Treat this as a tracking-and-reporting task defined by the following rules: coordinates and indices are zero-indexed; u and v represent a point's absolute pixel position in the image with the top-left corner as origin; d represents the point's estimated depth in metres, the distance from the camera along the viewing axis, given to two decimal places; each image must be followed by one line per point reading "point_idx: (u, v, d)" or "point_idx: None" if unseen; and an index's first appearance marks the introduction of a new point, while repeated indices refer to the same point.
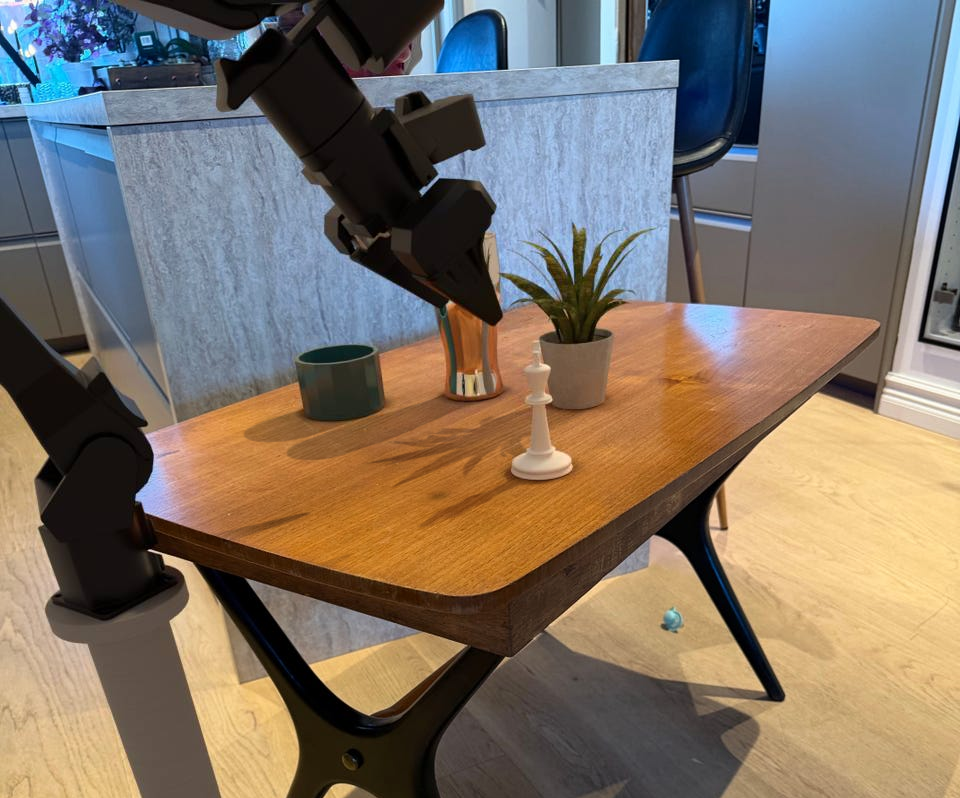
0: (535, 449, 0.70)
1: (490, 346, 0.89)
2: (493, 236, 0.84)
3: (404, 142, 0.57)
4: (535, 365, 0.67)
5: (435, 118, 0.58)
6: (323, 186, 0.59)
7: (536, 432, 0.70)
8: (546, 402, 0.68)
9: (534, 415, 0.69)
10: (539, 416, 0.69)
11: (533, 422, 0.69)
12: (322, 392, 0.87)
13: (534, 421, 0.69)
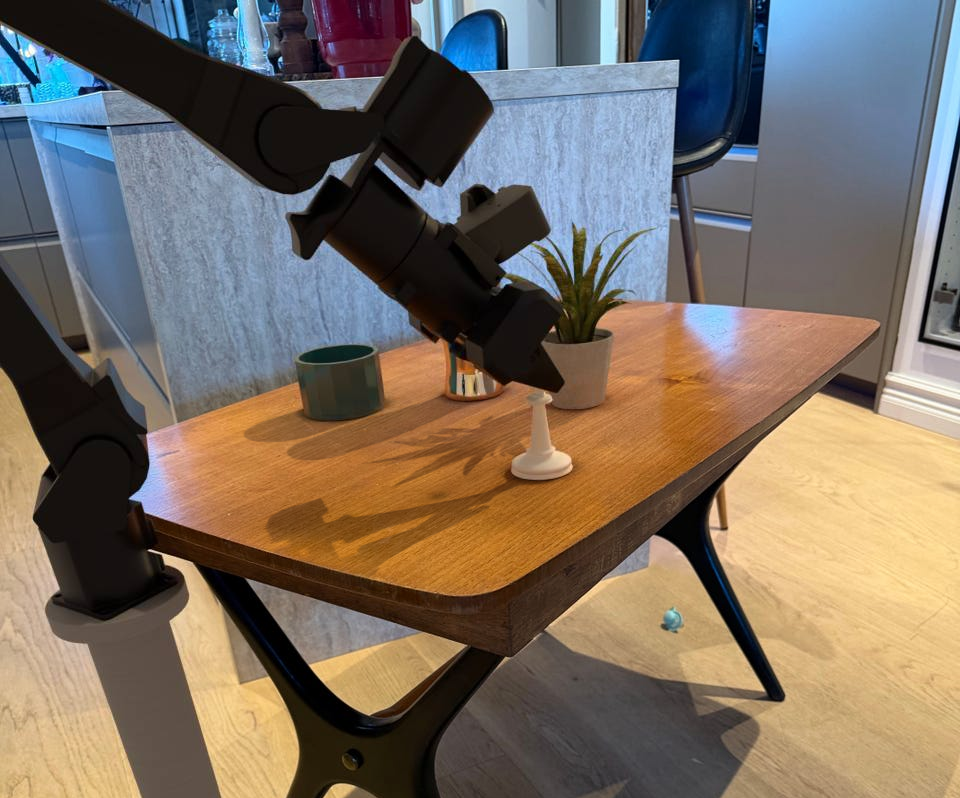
0: (535, 449, 0.70)
1: None
2: None
3: (469, 251, 0.59)
4: None
5: (497, 221, 0.59)
6: (399, 303, 0.62)
7: (536, 432, 0.70)
8: (546, 402, 0.68)
9: (534, 415, 0.69)
10: (539, 416, 0.69)
11: (533, 422, 0.69)
12: (322, 392, 0.87)
13: (534, 421, 0.69)
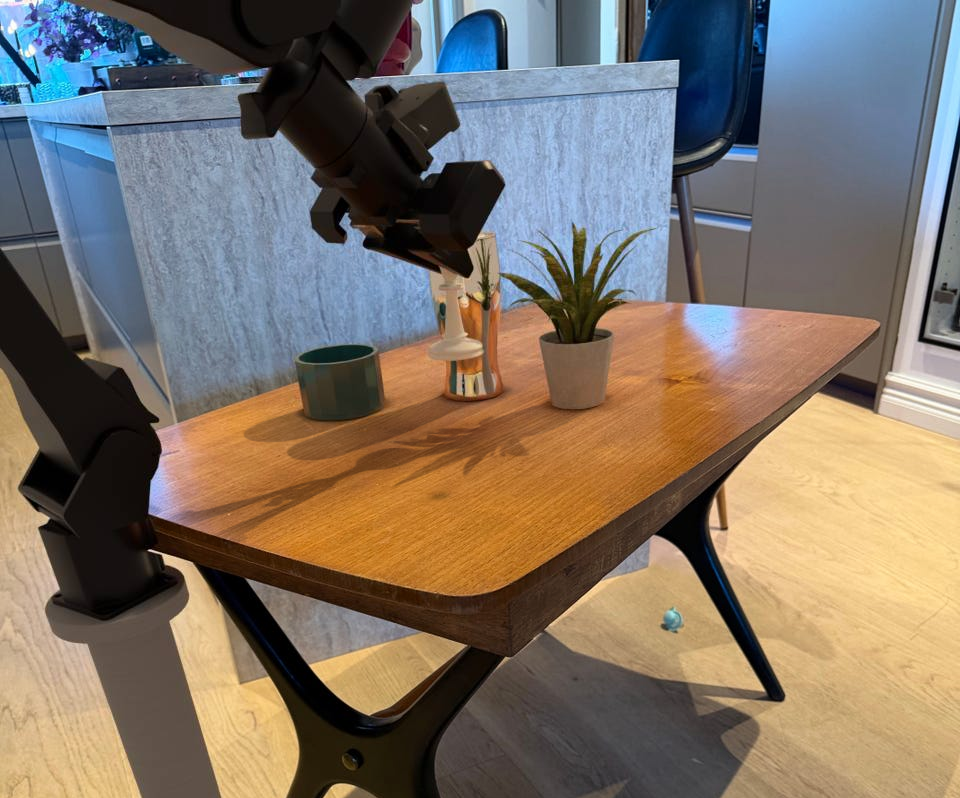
0: (452, 333, 0.77)
1: (490, 346, 0.89)
2: (493, 236, 0.84)
3: (405, 136, 0.66)
4: None
5: (423, 110, 0.66)
6: (340, 188, 0.66)
7: (452, 317, 0.77)
8: (460, 288, 0.76)
9: (449, 301, 0.76)
10: (453, 302, 0.76)
11: (448, 308, 0.77)
12: (322, 392, 0.87)
13: (449, 307, 0.77)
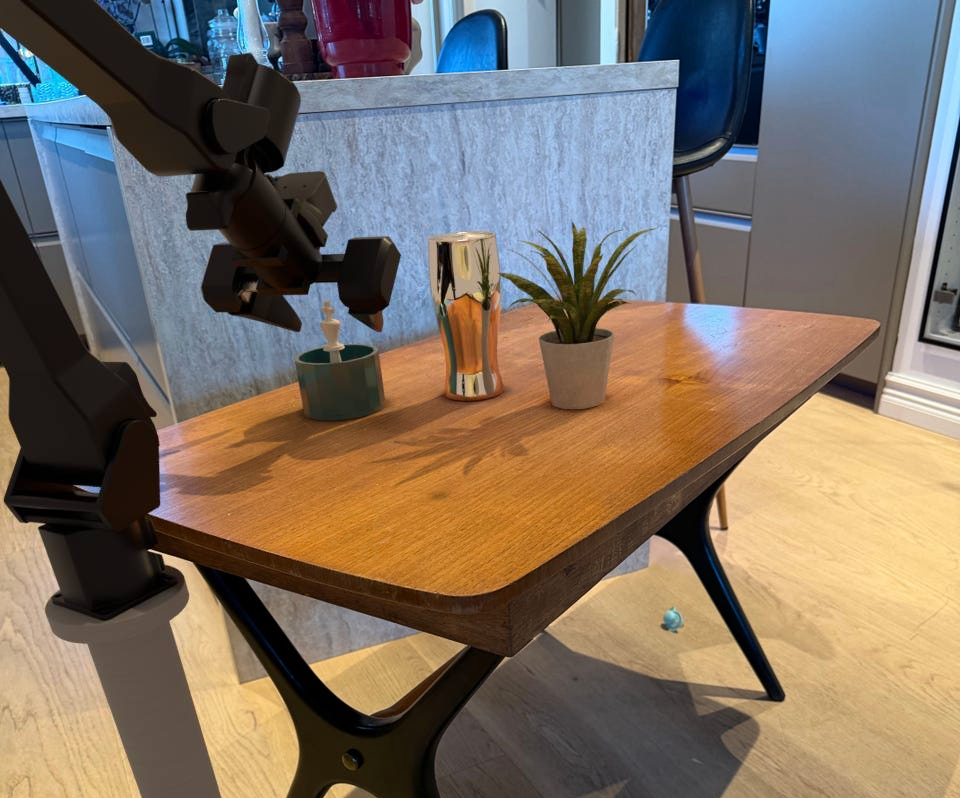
0: None
1: (490, 346, 0.89)
2: (493, 236, 0.84)
3: (309, 219, 0.77)
4: (330, 319, 0.86)
5: (315, 196, 0.78)
6: (262, 266, 0.76)
7: None
8: (343, 347, 0.88)
9: (334, 360, 0.88)
10: (338, 360, 0.88)
11: None
12: (322, 392, 0.87)
13: None
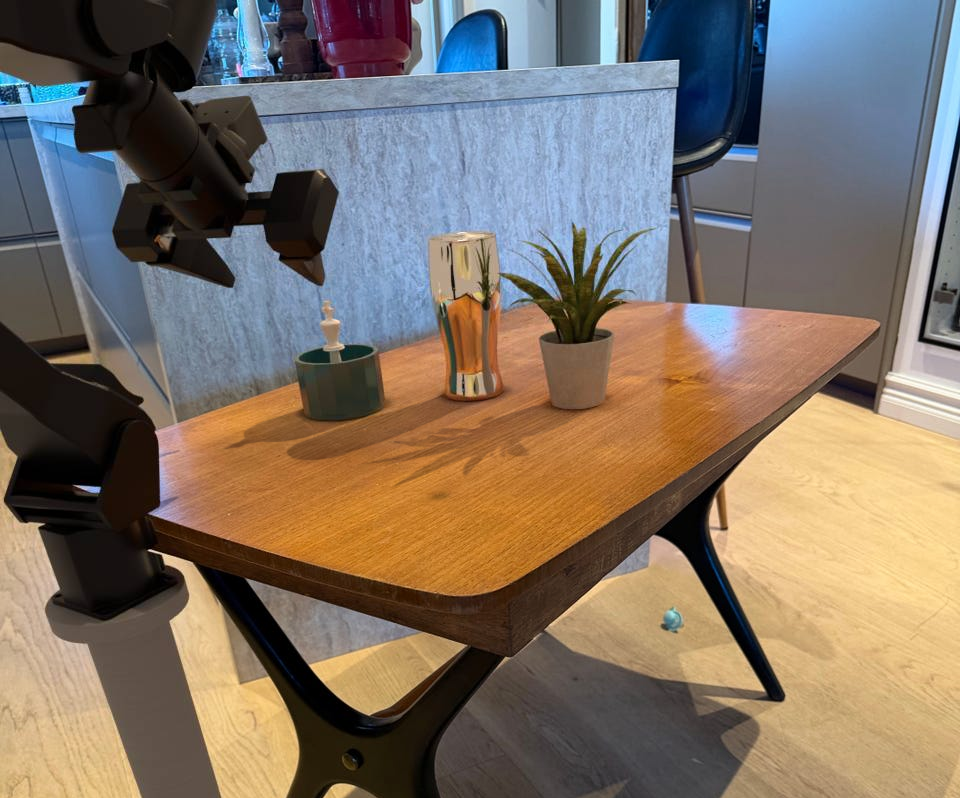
0: None
1: (490, 346, 0.89)
2: (493, 236, 0.84)
3: (230, 148, 0.66)
4: (330, 319, 0.86)
5: (239, 123, 0.67)
6: (174, 202, 0.65)
7: None
8: (343, 347, 0.88)
9: (334, 360, 0.88)
10: (338, 360, 0.88)
11: None
12: (322, 392, 0.87)
13: None
